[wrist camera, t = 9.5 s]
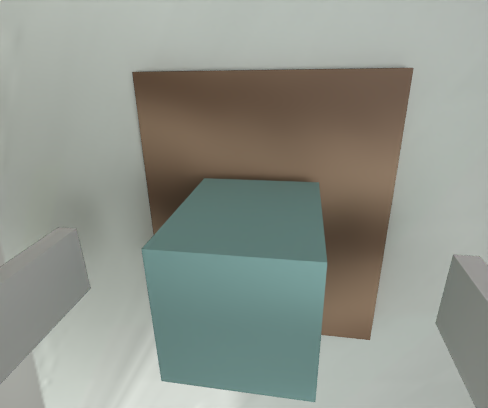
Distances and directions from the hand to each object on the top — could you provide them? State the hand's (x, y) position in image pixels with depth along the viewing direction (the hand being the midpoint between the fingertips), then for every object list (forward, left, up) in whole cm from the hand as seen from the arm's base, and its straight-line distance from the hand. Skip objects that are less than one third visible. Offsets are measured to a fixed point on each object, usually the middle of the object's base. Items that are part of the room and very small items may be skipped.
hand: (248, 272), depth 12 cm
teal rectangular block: (+1, 0, -4) cm, 4 cm away
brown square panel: (0, 0, -6) cm, 6 cm away
